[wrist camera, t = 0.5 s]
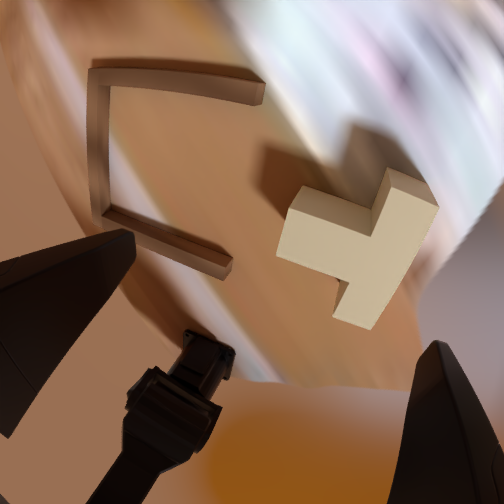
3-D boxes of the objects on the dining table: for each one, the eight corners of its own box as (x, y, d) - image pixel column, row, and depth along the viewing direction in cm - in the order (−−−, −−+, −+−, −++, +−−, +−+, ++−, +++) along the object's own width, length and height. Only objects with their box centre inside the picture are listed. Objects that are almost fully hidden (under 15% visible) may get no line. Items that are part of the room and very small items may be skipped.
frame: (230, 271, 27) (223, 281, 26) (102, 217, 30) (93, 224, 29) (265, 83, 18) (257, 83, 17) (100, 67, 21) (88, 68, 20)
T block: (373, 295, 23) (370, 330, 20) (280, 261, 25) (265, 292, 21) (427, 183, 17) (439, 207, 14) (314, 141, 19) (302, 155, 16)
